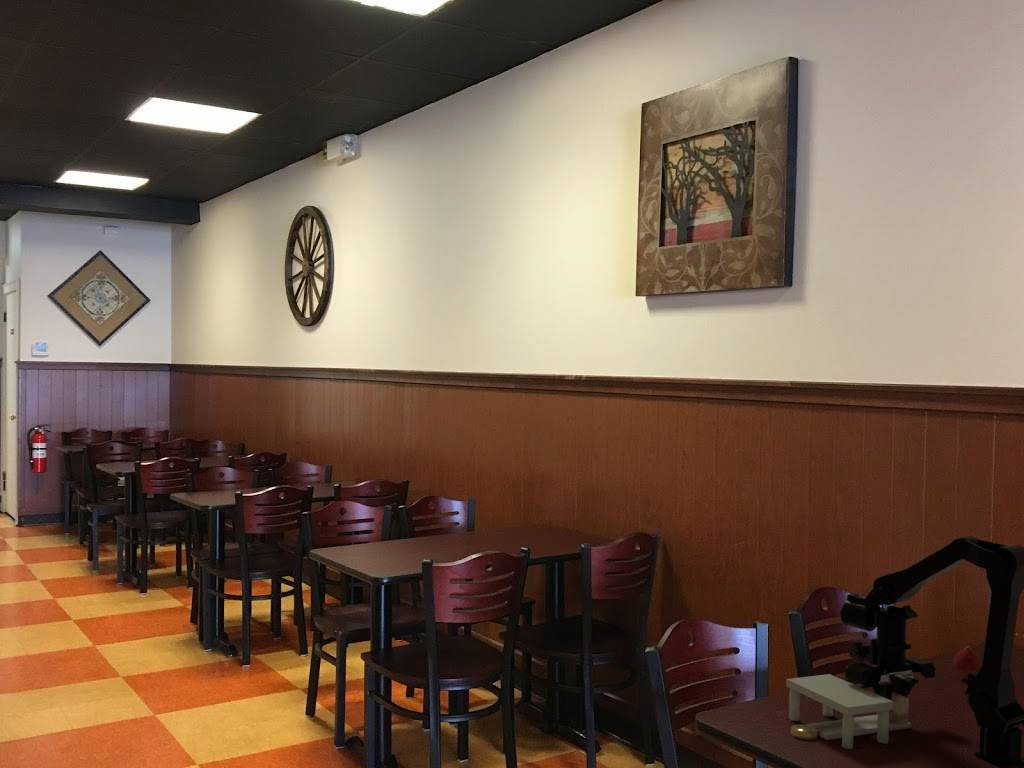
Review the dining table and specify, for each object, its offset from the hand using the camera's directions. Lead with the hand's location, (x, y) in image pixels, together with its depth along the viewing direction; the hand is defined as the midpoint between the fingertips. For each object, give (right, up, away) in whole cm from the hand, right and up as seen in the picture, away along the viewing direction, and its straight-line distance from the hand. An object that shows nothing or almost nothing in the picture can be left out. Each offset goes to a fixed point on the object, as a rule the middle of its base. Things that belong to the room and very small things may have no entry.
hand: (889, 712), depth 198 cm
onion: (+30, -3, +31) cm, 43 cm away
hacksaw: (-1, -2, +21) cm, 22 cm away
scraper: (-8, -2, -4) cm, 9 cm away
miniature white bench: (-12, -2, -5) cm, 14 cm away
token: (-20, -2, -8) cm, 22 cm away
